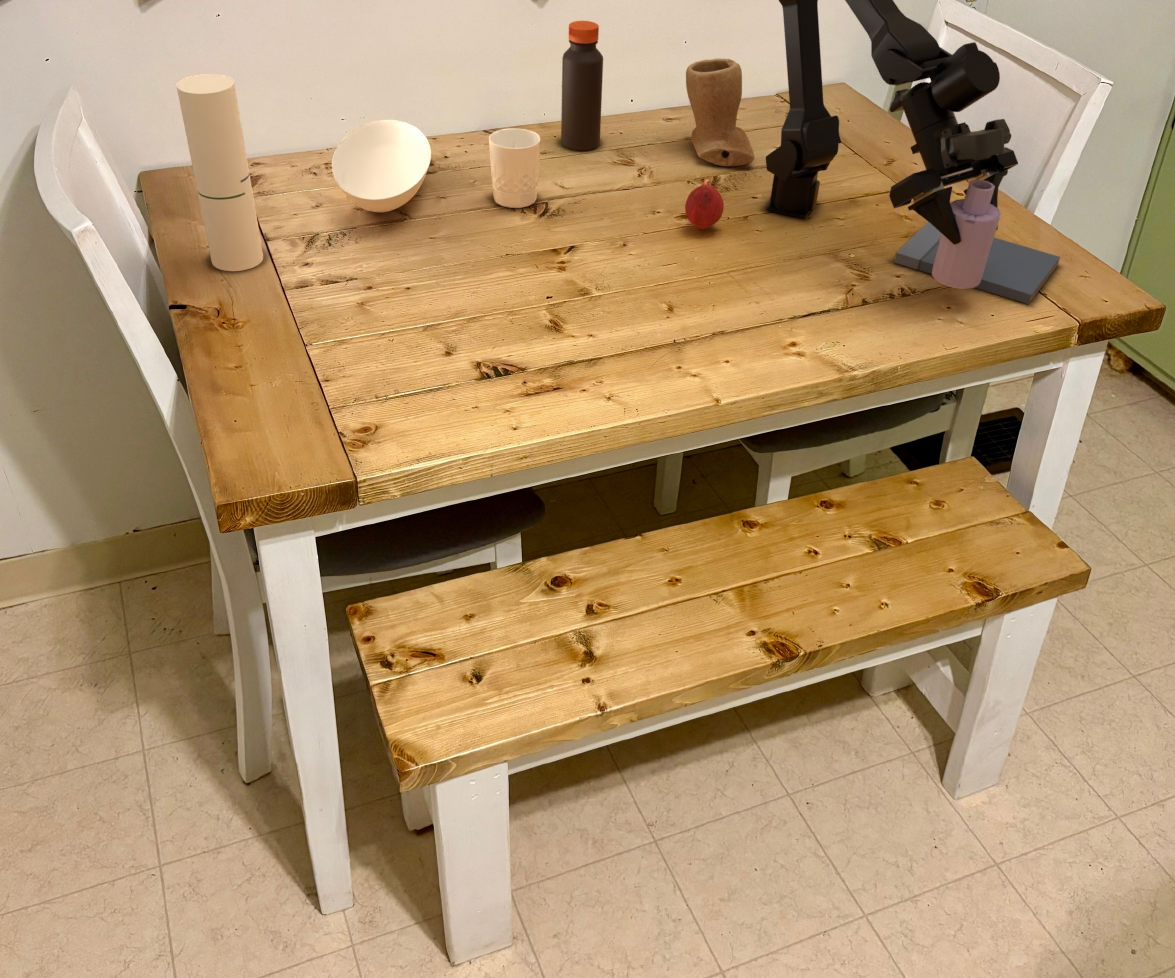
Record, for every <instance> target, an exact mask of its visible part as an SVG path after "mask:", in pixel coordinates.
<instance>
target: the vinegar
mask: <svg viewBox="0 0 1175 978" xmlns="http://www.w3.org/2000/svg"><path fill="white" fill-rule="evenodd" d="M599 29H600V26H599V24H598V23H596V22H594V21H591V20H575V21H572V22H570V23H569V24H568V43H569V45H570V47H568V48H567V50H565V52H564V53H563V55H562V62H561V64H562V65H561V66H562V67H561V117H560V118H561V122H560V129H561V130H560V142H561V144H562V146H563V147H565V148H567V149H569V150H573V151H584V152H585V151H591V150H594V149H596V148H597V147H598V146H599V145H600V143H601V124H602V103H603V102H602V100H603V99H602V97H603V77H604V76H603V75H604V73H603V72H604V56H603V54H602V53H601V51H600V50H599V49H598V48H597V45H598V43H599V35H600V33H599V31H600V30H599Z"/></svg>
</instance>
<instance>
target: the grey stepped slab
mask: <svg viewBox="0 0 1175 978" xmlns="http://www.w3.org/2000/svg"><path fill="white" fill-rule="evenodd" d="M941 235H942V233H941V232H940V231H938V230H937V229H936V228H935V227H934V226H933V225H932V224H931V223H929V222H928V221H927V222H926V223H925V224H924V225H923V226H922V227H921V228H920V229H919V230H918V231H917V232H916V233H915V234H914V235H913V236H912V237H911V238H910V239H909V240H908V241H907V242H906V243H905V244H904V245H903V246H902V247H901V248H900V249H899V250H898V251H897V252H896V253H895V258H894V263H895V264H897V265H900V266H903V267H907V268H911V269H913V270H915V271H916V270H917V271H920V272H923V273H927V274H930V275H932V269H933V265H934V261H935V258H936V254H937V250H938V246H939V242H940V239H941ZM1060 259H1061V256H1059V255H1056V254H1052V253H1049V252H1044V251H1042V250H1038V249H1035V248H1031V247H1028V246H1025V245H1021V244H1018V243H1014V242H1011V241H1007V240H1005V239H1000V238H997V237H994V239H993V242H992V246H991V249H990V252H989V256H988V259H987V262H986V266H985V269H984V272H983V276H982V279H981V282H980V284H979V285H978V286H976V287H974V288H975V289H977V290H980V291H984V292H988V293H990V294H994V295H997V296H1000V297H1003V298H1007V299H1009V300H1013V301H1016V302H1019V303H1022V304H1026V305H1030V303H1031V302H1032V300H1033V299H1034V297H1035V296H1036V295H1037V294H1038V292H1039V291H1040V290H1041V288H1042V287H1043V286H1044V284H1045V283H1046V282H1047V281H1048V279H1049V278H1050V276H1051V275H1052V274H1053V273H1054V271H1055V270H1056V269H1057V267H1058V265H1059V262H1060Z"/></svg>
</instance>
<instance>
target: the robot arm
mask: <svg viewBox="0 0 1175 978" xmlns="http://www.w3.org/2000/svg"><path fill="white" fill-rule="evenodd" d="M818 1H819V0H778V2H779V3H780V5H781V6H782V15H783V16H782V17H783V31H784V42H785V43H784V45H785V58H786V71H787V85H788V102H789V110H788V113H787V115H786V118H785V120H784V122H783V125H782V127H781V131H780V145H779V146H778V147H777V148H775V149H774V150H773V151H772V152H770V153H769V154H767V155H766V156H765V166H766V171H767V172H769V173H770V174H772V175H773V179H772V185H771V191H770V199H769V203H768V204H767V205H766V207H765V210H766V211H768V212H773V213H776V214H781V215H786V216H790V217H796V218H799V219H806V218H807V217H808V215H809V214H810V212H812V211H813V210H814V209H815V207H816V206H817V203H818V196H819V192H820V191H819V190H820V185H821V181H820V180H818V175H819V172H824V171H827V170H828V169H829V166H830V164H831V162H832V161H833V160H834V159H835V157H836V156H837V155H838V152H839V145H840V144H842V139H841V137H840V118H839V116H838V115H831V113H830V112H829V111H828V109H827V108H826V106H825V103H824V90H823V89H824V88H823V87H824V86H823V74H822V73H823V72H822V71H823V70H822V57H821V40H820V23H819V7H818V5H819V4H818ZM844 1H845V3H846V4H847V5H848V7H849V9H850V10H851V11H852V13H853V14H854V16H855V17H856V19H857V21H858V22H859V23H860V25H861V26H862V28H863V29H864V32H866V34H867V35H868V38H869V40H870V42H871V43H870V46H871V49H870V50H871V51H870V53H871V58H872V60H873V63H874V65H875V67H876V69H877V72H878V73H879V75H880V77H881V79H882V81H884V83H885V84H887V85H888V86H901V85H905V84H909V83H913V82H917V81H922V80H923V81H922V82H918V83H916V84H915V85H914V86H912V87H911V88H903V89H899V90H896V91H895V93H894V97H893V100H892V101H891V103H890V106H889V112H890V113H895V112H900V111H903V112H904V115H905V118H906V120H907V124H908V125H909V128H910V131H911V133H912V136H913V140H914V141H915V144H913V145H911V146H910V147H909V148H910V150H911V153H912V155H915V154H919V155H920V158H921V160H922V162H923V166H924V168H925V169H924V170H921V171H916V172H913V173H911V174H909V175H908V176H906V177H905V178H903V179H902V180H900V181H898V182H897V183H895V184H893V185H891V187H890V191H889V194H888V196H889V200H890V202H891V204H892V207H893V209H897V208H900V207H905V206H907V205H909V204H910V205H909V206H907V210H908V211H914V212H915V213H916V214H917V215H919V216H920V217H921V218H923V219H924V220H926V221H927V222H929V223H931V224H932V225H933V226H934V227H935V228H936V229H937V230H938V231H940V232H941V233H942V234H943V235H944V236H945V237H946V238H947V239H948V240H949V241H950V242H952V243H953V244H954V245H956V244H958V243H960V242H961V237H960V233H959V229H958V226H957V223H956V220H955V217H954V214H953V211H952V208H951V205H950V203H951V199H952V198H951V197H952V192H953V186H951V185H955V184H958V183H961V182H967V183H968V184H969V183H970V181H973V180H984V181H988V182H990V183H992V184H993V185H994V186H995V188H994V191H993V195H992V198H991V202H990V204H992V205H994V206H995V207H996V208H998V207H999V206H998V200H999V199H998V197H999V187H1000V185H1001V182H1002V181H1003V179H1004V177H1006V176H1007V175H1008V173H1009V170H1011V169H1012V168H1014V167H1015V166H1018V165H1019V162H1018V159H1017V156H1016V153H1015V151H1014V149H1011V148H1009V147H1007V146H1005V145H1006V144H1007V145H1008V144H1009V143H1010V141H1011V139H1012V133H1011V130H1010V127H1009V126H1008V123H1007V121H1006V120H1005V118H999V119H994V120H989V121H987V122H986V123H985V126H984V129H980V130H976V131H975V130H973V131H971V128H970V126H969V124H967V123H966V122H965V121H964V122H961V123H958V120H957V118H956V117H957V116H956V115H955V113H960V112H962V111H964V110H966V109H967V108H969V107H970V106H972V105H973V104H975V103H977V102H978V101H980V100H981V99H983V98H985V97H986V96H988V95H989V94H991V93H992V92H994V91H995V90H996V89H997V88H998V86H999V84H1000V81H1001V75H1000V74H1001V73H1000V70H999V65H998V64H997V62H995V61H994V60H993V58H992V57H990V55H989V54H988V53H986V52H984V51H982V50H980V49H979V47H978V44H977V43H976V41H972V42H969V43H965V44H963V45H961V46H960V47H958V48H957V49H956V50H955V51H954V53H951V52H949V51H947V50H945V49H944V48H943V47H941V46H940V44H939V42H938V40H937V39H936V38H935V37H934V36H933V35H932V34H931V33H930V32H929V31H928V30H927V29H926V28H925V27H924V26H923V24H921V23H919V22H917V21H915V20H913V19H912V18H910V17H907V16H906V15H905V14H904V13H903V12H902V11H901V10H900V9H899V7H898V6H897V4H896V3H895V1H894V0H844ZM926 79H927V80H928V79H930V82H928V81H924V80H926ZM967 189H968V188H966V189H963V193H964V195H965V196H966V193H967ZM912 202H913V203H912ZM911 203H912V204H911ZM998 209H999V208H998ZM998 229H999V224H998V225H997V229H996V232H997V231H998Z"/></svg>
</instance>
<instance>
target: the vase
mask: <svg viewBox="0 0 1175 978" xmlns="http://www.w3.org/2000/svg"><path fill="white" fill-rule="evenodd" d="M994 188H995V186H994V185H993V184H992V183H990V182H988V181H984V180H973V181H970V183H968V185H967V188H966V189H967V193H966V195H965V197H964V198H961V199H960V198H959V199H955V200H953V201H950V205H951V208H952V211H953V214H954V217H955V220H956V223H957V226H958V229H959V233H960V237H961V242H960V243H958V244H956V245H954V244H953V243H952V242H950V241H949V240H948V239H947V238H946V237H945V236H944V235H943V234H942V235H941V239H940V242H939V246H938V250H937V254H936V258H935V261H934V265H933V269H932V274H931V275H932V276H931V277H932V278H933V279H934V280H935V282H938V283H940V284H942V285H943V286H946V287H949V288H953V289H957V290H959V289H960V290H969V289H973V288H974V287H976V286H978V285H979V284H980V282H981V279H982V276H983V272H984V269H985V266H986V262H987V259H988V256H989V252H990V249H991V246H992V242H993V239H994V238H995V235H996V232H997V231H996V229H997V225H998V226H999V222H1000V219H1001V215H1002V213H1001V211H1000V209H999V208H996V207H995V206H994V205H992V204H990V202H991V198H992V195H993V191H994ZM997 230H998V229H997Z"/></svg>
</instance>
